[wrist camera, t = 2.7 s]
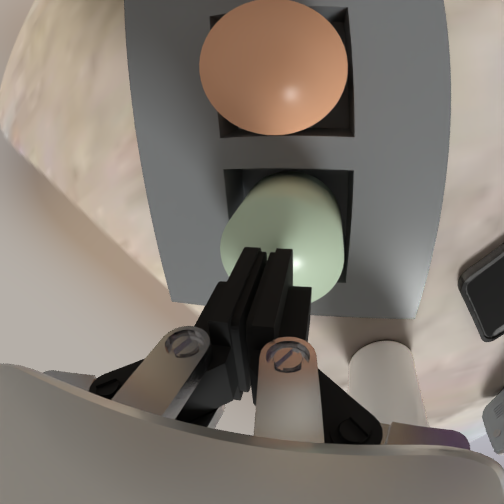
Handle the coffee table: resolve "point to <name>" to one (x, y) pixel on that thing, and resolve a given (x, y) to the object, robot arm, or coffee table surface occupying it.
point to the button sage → (290, 228)
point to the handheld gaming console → (495, 422)
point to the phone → (486, 294)
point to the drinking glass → (387, 383)
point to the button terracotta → (273, 67)
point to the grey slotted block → (300, 147)
